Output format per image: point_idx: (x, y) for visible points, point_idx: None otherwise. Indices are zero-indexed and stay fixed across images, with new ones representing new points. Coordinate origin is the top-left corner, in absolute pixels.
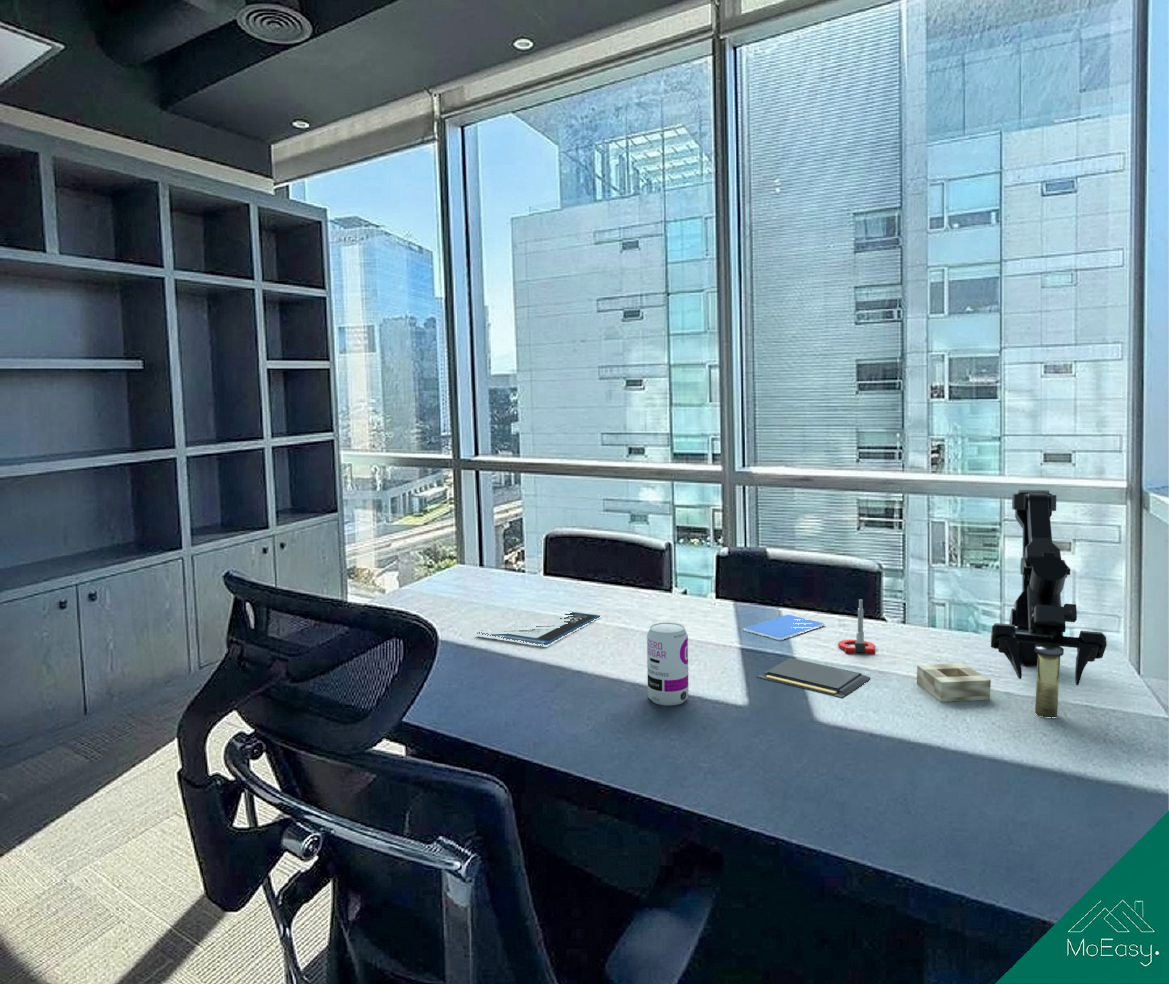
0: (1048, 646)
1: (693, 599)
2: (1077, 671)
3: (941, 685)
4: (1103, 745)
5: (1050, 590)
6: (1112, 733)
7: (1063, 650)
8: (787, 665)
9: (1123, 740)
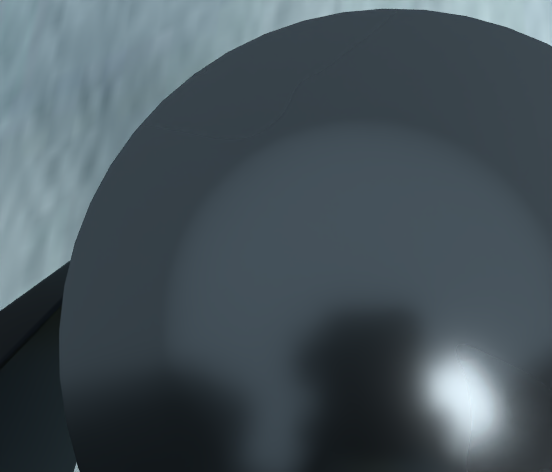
0: (418, 428)
1: None
2: (54, 298)
3: None
4: (117, 44)
5: None
6: (62, 185)
7: (81, 247)
8: None
9: (36, 127)
